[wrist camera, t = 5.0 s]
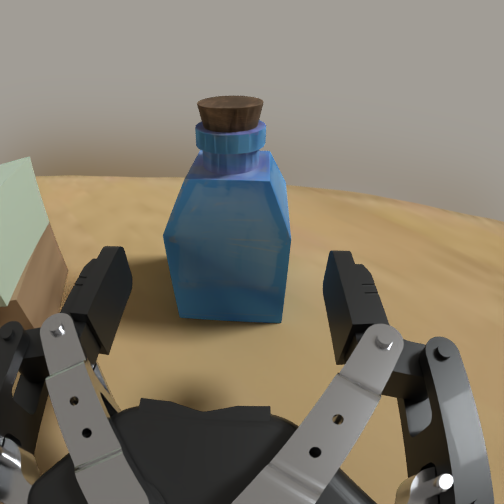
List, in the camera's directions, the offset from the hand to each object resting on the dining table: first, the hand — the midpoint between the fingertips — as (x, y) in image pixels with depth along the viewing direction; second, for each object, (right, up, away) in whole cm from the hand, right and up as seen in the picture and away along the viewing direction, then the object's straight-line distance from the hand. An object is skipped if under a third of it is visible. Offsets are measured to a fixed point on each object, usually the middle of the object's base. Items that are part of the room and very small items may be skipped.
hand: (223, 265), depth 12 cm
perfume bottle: (0, -2, +9) cm, 10 cm away
